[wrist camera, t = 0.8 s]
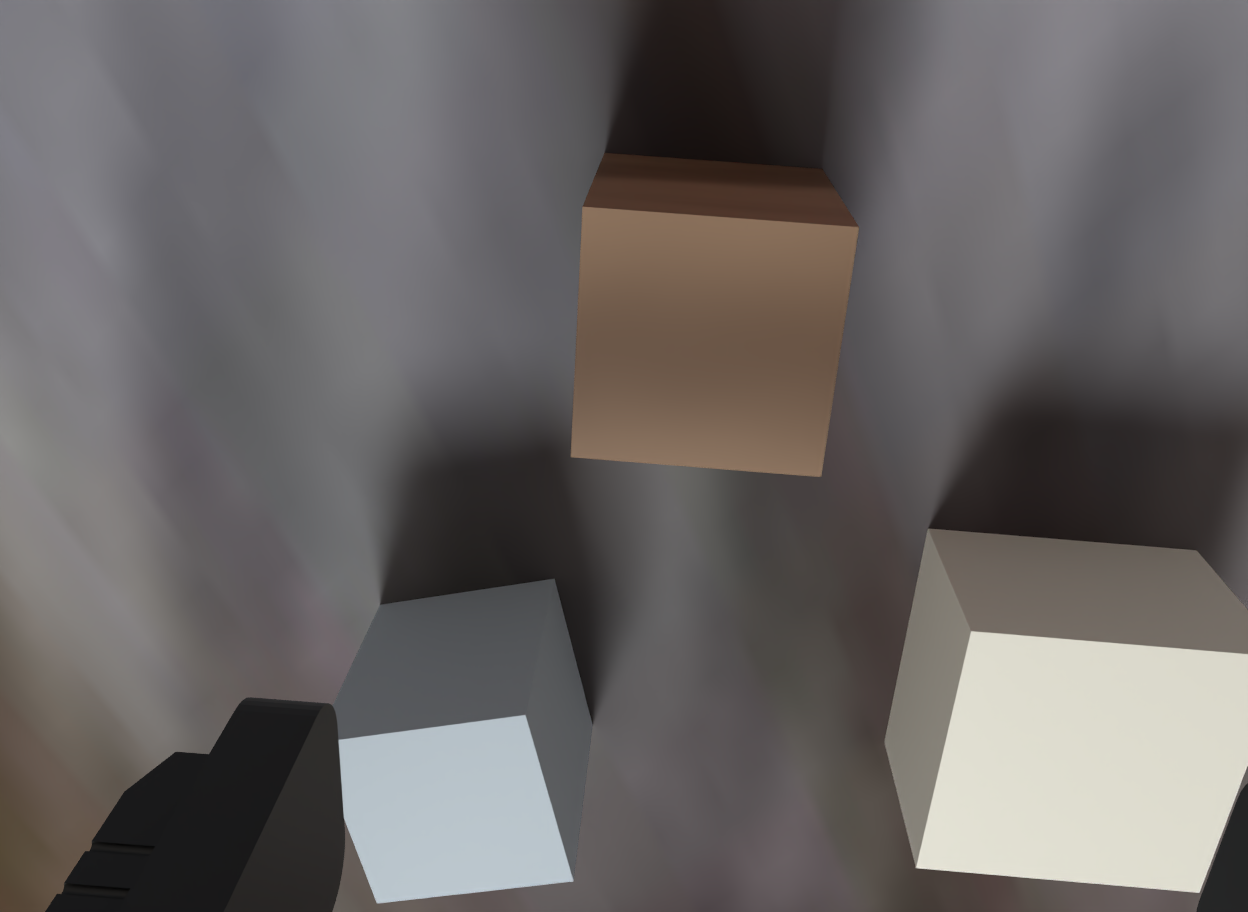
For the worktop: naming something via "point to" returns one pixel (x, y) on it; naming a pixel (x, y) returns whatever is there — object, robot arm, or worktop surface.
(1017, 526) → the worktop surface
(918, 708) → the base block
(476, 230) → the worktop surface
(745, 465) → the walnut block
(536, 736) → the slate-grey block
